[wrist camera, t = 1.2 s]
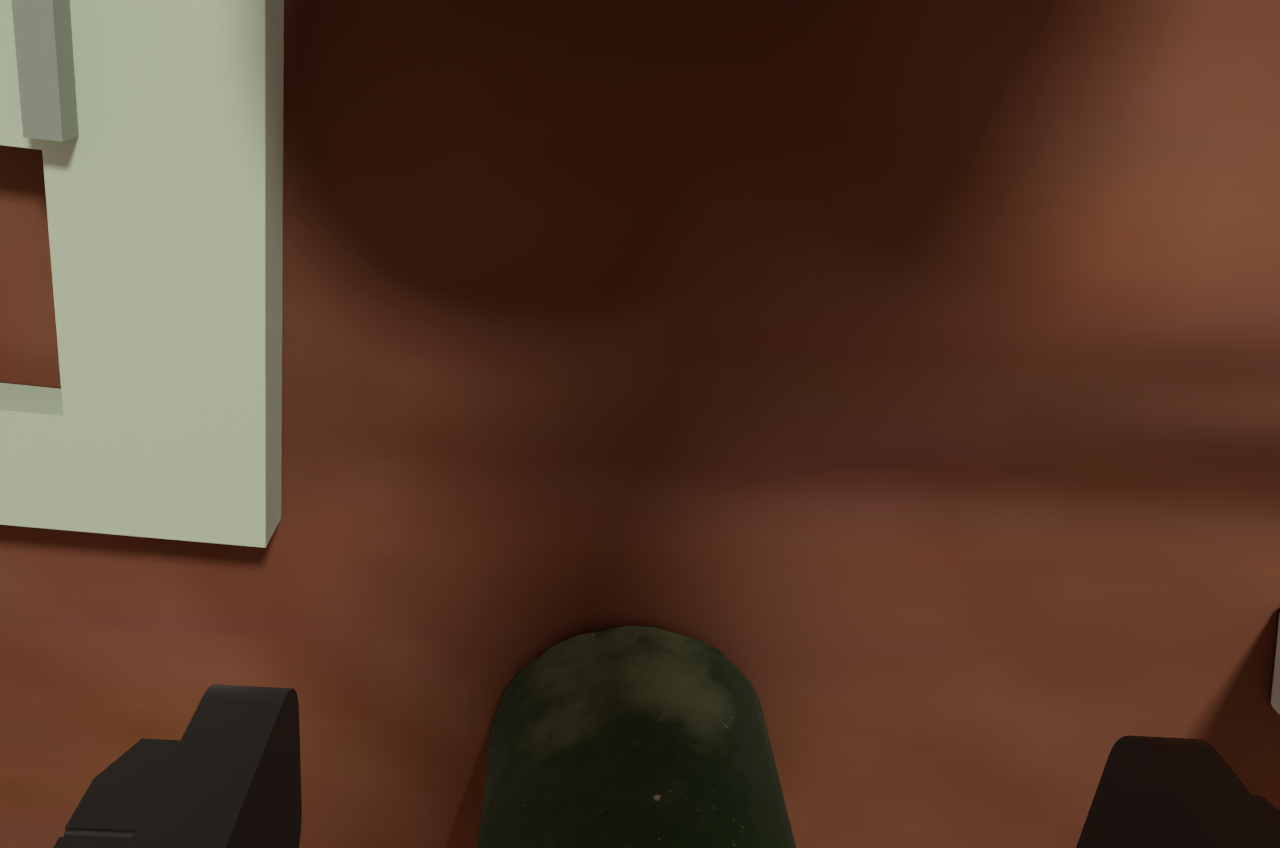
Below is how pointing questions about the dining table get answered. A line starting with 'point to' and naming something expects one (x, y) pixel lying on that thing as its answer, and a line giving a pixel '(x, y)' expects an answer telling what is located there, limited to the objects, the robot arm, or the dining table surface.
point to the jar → (1276, 676)
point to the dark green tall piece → (631, 750)
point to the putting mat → (152, 267)
